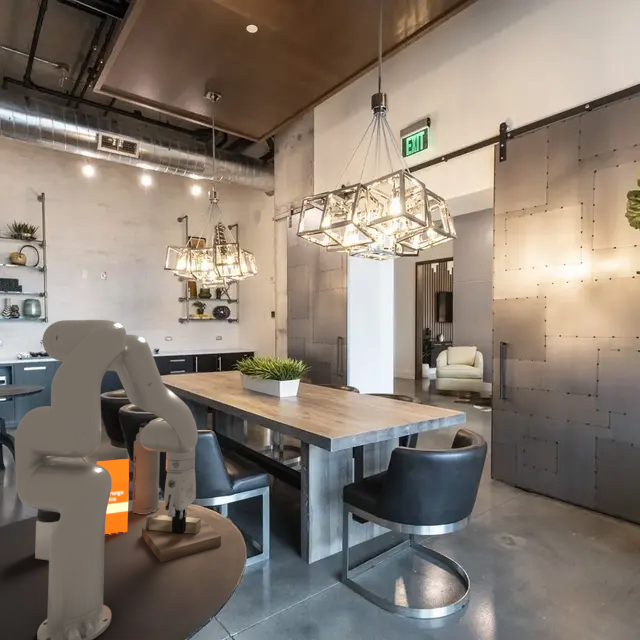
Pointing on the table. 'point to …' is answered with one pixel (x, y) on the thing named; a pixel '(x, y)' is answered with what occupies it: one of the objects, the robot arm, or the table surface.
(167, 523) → the hinged leg
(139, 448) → the thermos bottle
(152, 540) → the stool top
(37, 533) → the jar
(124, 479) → the orange juice
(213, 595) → the table surface
